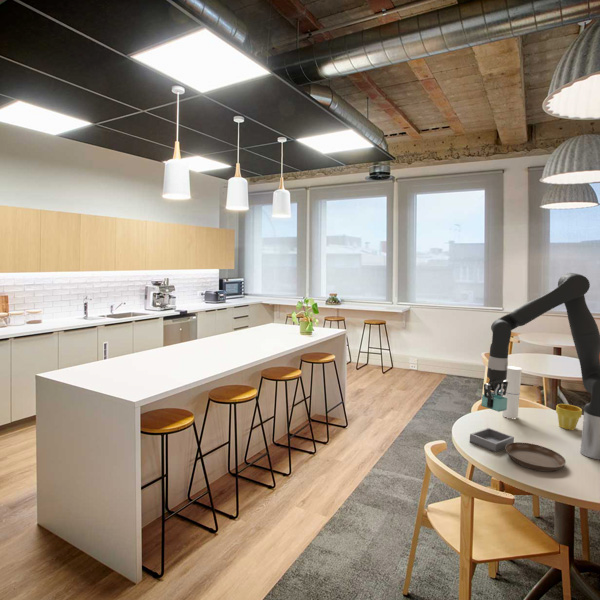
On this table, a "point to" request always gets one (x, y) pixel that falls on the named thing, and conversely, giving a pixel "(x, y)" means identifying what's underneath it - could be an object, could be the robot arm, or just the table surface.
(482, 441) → the grey rectangular tray
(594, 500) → the table surface
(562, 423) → the plant pot
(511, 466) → the table surface
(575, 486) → the table surface
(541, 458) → the plant saucer
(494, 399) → the small crate
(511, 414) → the cylindrical container
